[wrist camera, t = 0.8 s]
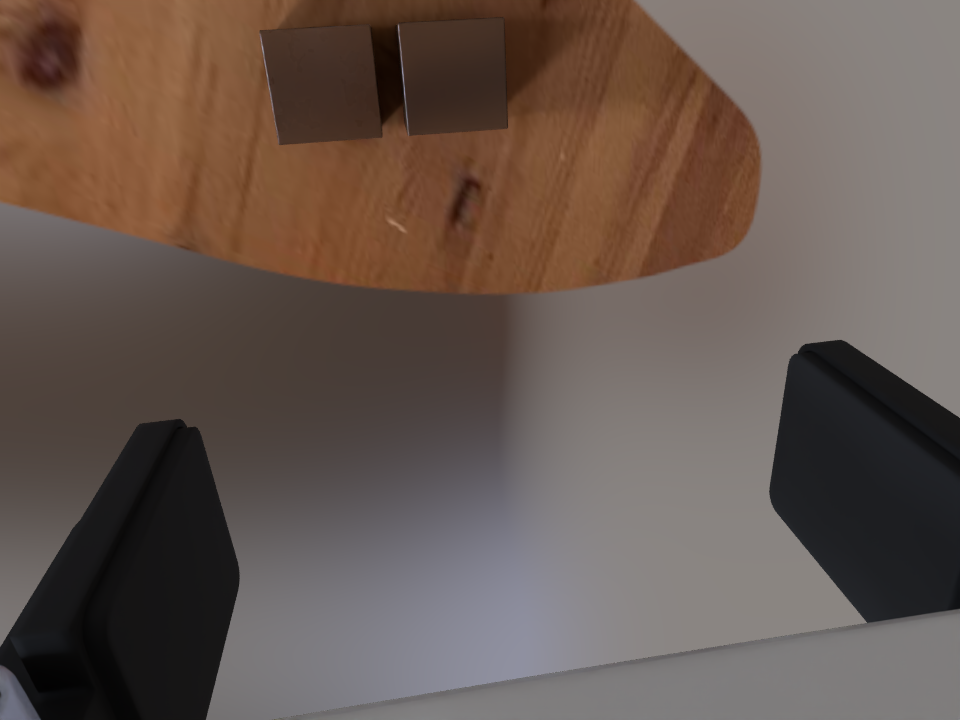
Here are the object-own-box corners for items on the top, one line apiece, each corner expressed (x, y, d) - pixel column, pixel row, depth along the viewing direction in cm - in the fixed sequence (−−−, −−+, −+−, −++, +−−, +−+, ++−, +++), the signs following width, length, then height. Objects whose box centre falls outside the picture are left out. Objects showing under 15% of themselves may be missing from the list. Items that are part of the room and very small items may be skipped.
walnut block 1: (274, 31, 34) (258, 30, 30) (371, 26, 34) (370, 24, 30) (290, 132, 36) (278, 145, 32) (382, 126, 36) (382, 137, 32)
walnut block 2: (395, 25, 35) (397, 22, 30) (489, 19, 35) (504, 17, 31) (404, 124, 37) (408, 135, 32) (493, 118, 37) (508, 128, 33)
